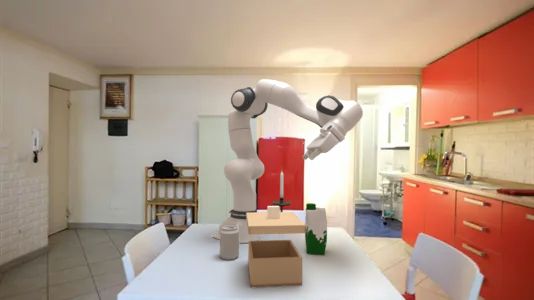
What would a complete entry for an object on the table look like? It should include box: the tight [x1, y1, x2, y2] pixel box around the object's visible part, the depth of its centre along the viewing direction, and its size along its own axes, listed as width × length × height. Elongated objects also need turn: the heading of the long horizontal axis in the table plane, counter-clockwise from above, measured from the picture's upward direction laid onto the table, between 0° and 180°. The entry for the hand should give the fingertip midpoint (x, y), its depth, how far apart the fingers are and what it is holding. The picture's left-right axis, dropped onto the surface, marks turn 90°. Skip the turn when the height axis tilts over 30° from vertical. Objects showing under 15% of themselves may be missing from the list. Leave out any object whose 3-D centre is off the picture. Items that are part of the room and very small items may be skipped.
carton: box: [247, 239, 303, 288], centre depth 92 cm, size 16×18×9 cm
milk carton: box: [304, 202, 328, 256], centre depth 114 cm, size 9×9×20 cm
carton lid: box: [246, 205, 306, 235], centre depth 92 cm, size 18×20×6 cm
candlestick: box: [271, 165, 292, 212], centre depth 152 cm, size 11×11×35 cm
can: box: [219, 225, 240, 261], centre depth 107 cm, size 8×8×12 cm
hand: (306, 158), depth 106 cm, fingers open, 8 cm apart
